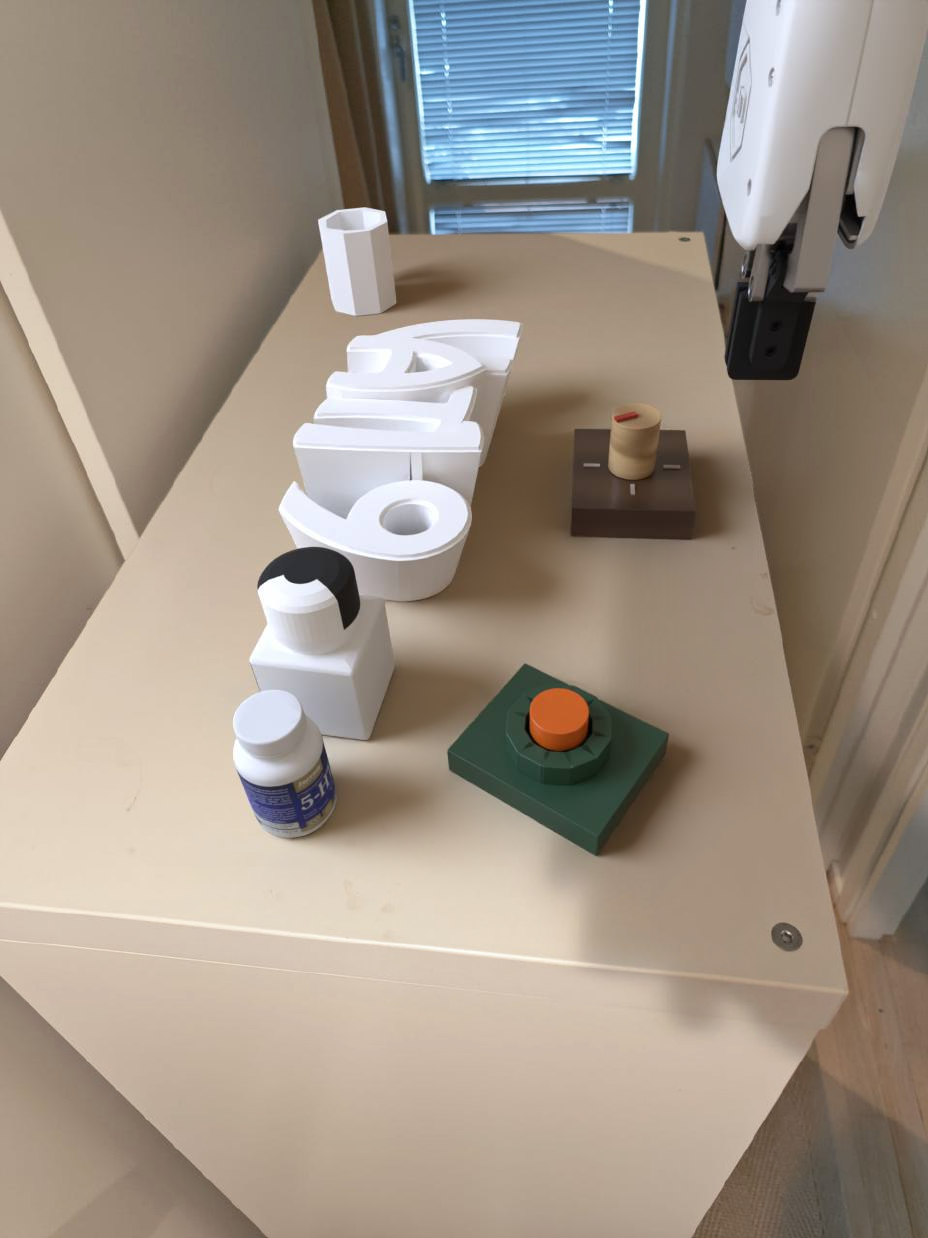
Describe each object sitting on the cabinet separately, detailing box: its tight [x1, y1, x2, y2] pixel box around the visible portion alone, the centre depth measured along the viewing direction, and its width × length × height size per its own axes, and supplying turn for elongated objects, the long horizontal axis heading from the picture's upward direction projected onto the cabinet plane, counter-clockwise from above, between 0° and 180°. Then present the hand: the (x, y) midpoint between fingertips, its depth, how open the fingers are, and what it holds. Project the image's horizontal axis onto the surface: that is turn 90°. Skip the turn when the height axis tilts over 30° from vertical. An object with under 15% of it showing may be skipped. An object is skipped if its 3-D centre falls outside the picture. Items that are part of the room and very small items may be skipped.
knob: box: [608, 402, 662, 480], centre depth 71 cm, size 4×4×5 cm
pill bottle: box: [232, 690, 338, 839], centre depth 51 cm, size 5×5×9 cm
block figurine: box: [249, 547, 396, 741], centre depth 56 cm, size 7×7×12 cm
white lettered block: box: [278, 318, 524, 602], centre depth 73 cm, size 35×16×11 cm, turn 167°
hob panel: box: [569, 428, 697, 540], centre depth 74 cm, size 12×10×3 cm
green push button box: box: [446, 663, 670, 857], centre depth 54 cm, size 11×9×4 cm
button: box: [530, 688, 589, 751], centre depth 52 cm, size 4×4×2 cm
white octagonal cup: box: [317, 207, 398, 317], centre depth 104 cm, size 12×9×10 cm
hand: (759, 370), depth 40 cm, fingers closed
